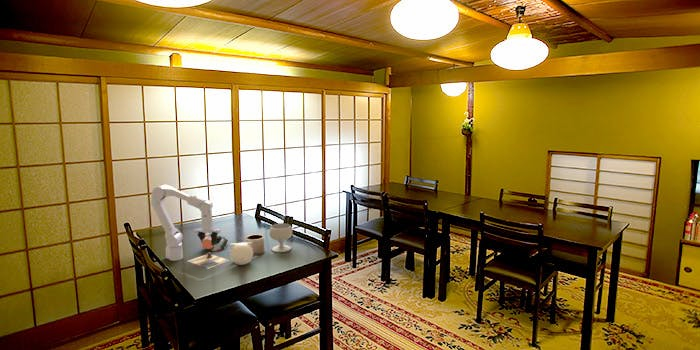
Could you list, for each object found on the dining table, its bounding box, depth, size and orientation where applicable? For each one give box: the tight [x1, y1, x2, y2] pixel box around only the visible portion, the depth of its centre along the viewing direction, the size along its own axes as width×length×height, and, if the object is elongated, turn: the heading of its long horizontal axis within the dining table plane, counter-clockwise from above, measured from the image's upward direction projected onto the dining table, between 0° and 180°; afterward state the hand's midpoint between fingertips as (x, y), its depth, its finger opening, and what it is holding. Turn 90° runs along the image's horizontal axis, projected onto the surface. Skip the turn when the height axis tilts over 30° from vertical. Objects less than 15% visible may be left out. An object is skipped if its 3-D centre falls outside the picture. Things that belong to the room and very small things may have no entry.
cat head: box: [228, 242, 256, 266], centre depth 211 cm, size 15×13×12 cm
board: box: [187, 251, 231, 270], centre depth 214 cm, size 19×14×4 cm
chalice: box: [268, 222, 293, 253], centre depth 234 cm, size 14×14×15 cm
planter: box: [245, 233, 265, 255], centre depth 230 cm, size 11×11×10 cm
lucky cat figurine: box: [205, 233, 229, 252], centre depth 233 cm, size 15×12×14 cm
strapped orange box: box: [201, 237, 215, 249], centre depth 218 cm, size 5×5×5 cm
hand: (208, 244), depth 218 cm, fingers closed on strapped orange box, 5 cm apart
